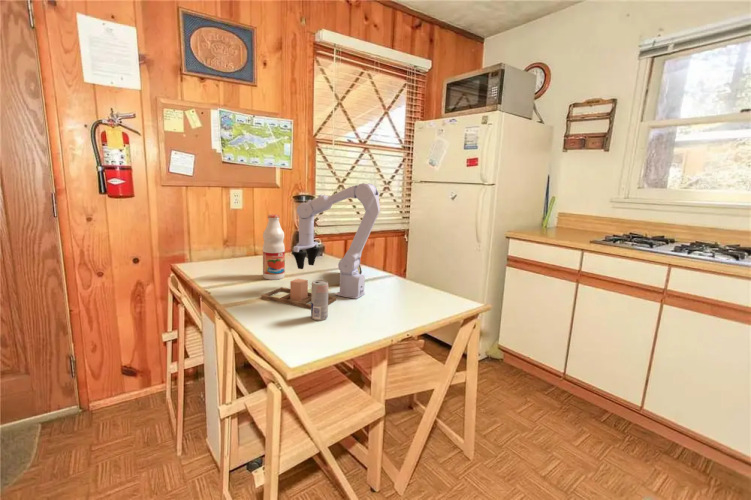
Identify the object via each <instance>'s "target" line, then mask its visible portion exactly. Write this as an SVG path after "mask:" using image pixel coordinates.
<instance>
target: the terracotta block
mask: <svg viewBox="0 0 751 500" xmlns="http://www.w3.org/2000/svg"><path fill="white" fill-rule="evenodd" d="M308 286H309V281H308V280H307V279H302V278H296V279H292V280H291V281H290V285H289V289H290V292H289V294H290V300H295V301H301V300H303V299H305V298H307V297H309V296H308V292H309V290H308Z"/></svg>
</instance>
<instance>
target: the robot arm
mask: <svg viewBox="0 0 751 500" xmlns="http://www.w3.org/2000/svg"><path fill="white" fill-rule="evenodd" d="M317 196H318V197H317V198H313V199H312V200H311V199H308V200H307V202H302V203H300V204H298V206H297V207H296V213H297V215H298V220H299V222H298V243H296V245H294V246H293V250H292V251H291V252H292V255H293V257H294V259H295V262H296V266H297V269H299V270H304V268H305V267H304V266H305V260H306V257H307V264H308V265H309V266H314V265H315V262H316V257H317V255H318V253H319V251H320V247H319V242H318V241H314V238H315V237H314V232H315V231H314V230H315V228H314V227H315V216H316V215H318V214H321V213H324V212H326V211H328V210H331V208H332V207H333V205H334V204H336V203H340V202H342V201H344V200H347V199H350V198H351V199H357V200H358V201H359V202H360V203H361V205H362V206H363V208H364V210H365V211H364V215H363V217H362V218H361V221H360V224H359V225H358V228H357V230H356V232H355V235H354V237H353V239H352V242H351V244H350V246H349V248H348V250H347V251H346V253H345V255H344V257H343V258H341V259H340V260H339V262H338V265H337V266H338V270H339V291H338V292H336V293H334V295H335V296H337V297H345V298H350V299H355V300H358V299H359V298H361V297H362V296H364V295H365V294H366V293H365V284H366V283H365V282H366V281H365V275H364V274H362V273H361V274H359V273H358V272H359V271H358V269H357V268H358V267H359V265H360V266H361V257H362V253H363V250H364V247H365V246H366V243H367V242H368V239H369V237H370V235H371V232H372V230H373V228H374V226H375V223H376V221H377V220H378V217H379V214H380V212H381V204H380V192H379V191H378V189H377V187H376V186H375V185H374V184H373V183H365V182H364V183H359V184H357V185H351V186H348V187H347V188H345V189H342V190H339V191H338V192H336V193H334V194H331V195H329V196H328V195H326V194H324V195H323V194H319V195H317ZM304 251H306V252H304Z"/></svg>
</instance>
